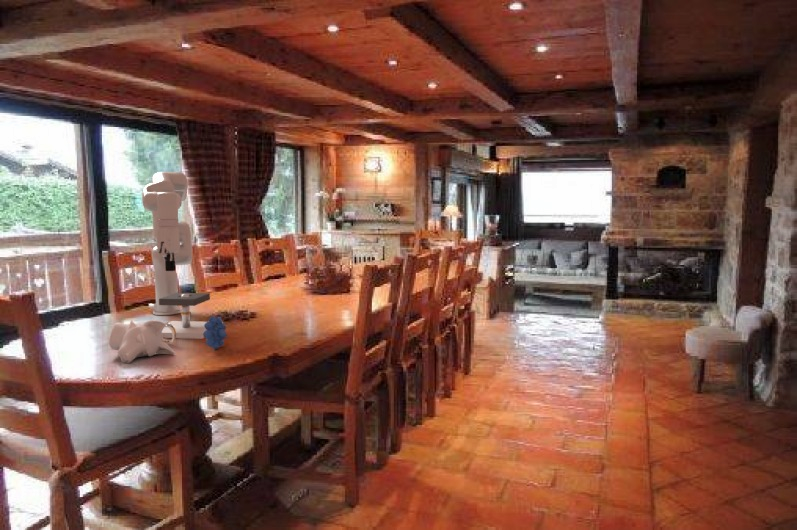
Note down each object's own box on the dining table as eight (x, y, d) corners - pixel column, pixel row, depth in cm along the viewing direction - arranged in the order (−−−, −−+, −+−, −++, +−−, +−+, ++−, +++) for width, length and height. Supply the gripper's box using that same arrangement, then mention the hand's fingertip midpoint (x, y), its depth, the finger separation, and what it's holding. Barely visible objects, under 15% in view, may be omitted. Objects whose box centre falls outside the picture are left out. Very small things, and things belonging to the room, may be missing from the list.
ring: (178, 344, 198) (177, 322, 197) (171, 346, 195) (170, 324, 194) (163, 342, 201) (162, 321, 200) (156, 344, 198) (155, 322, 197)
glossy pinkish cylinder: (179, 327, 215) (178, 295, 214) (184, 325, 219) (182, 293, 217) (188, 328, 215) (187, 295, 213) (192, 325, 219) (191, 294, 217)
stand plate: (146, 337, 208) (146, 332, 208) (172, 325, 228) (172, 320, 228) (202, 338, 206) (202, 333, 206) (223, 326, 226) (223, 321, 226)
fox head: (88, 344, 170) (152, 340, 169) (113, 314, 185) (172, 310, 184) (102, 378, 176) (164, 374, 176) (125, 347, 191) (182, 343, 191)
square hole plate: (159, 305, 209) (158, 298, 209) (176, 298, 223) (176, 292, 223) (194, 305, 208) (194, 299, 208) (209, 299, 222) (209, 293, 222)
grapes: (216, 354, 185) (214, 319, 184) (199, 352, 187) (197, 318, 186) (235, 345, 196) (234, 313, 195) (219, 344, 198) (218, 312, 197)
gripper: (168, 223, 220) (170, 268, 222) (148, 224, 205) (151, 272, 207) (186, 223, 220) (188, 268, 221) (168, 224, 205) (170, 273, 207)
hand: (170, 270), depth 214 cm, fingers closed
